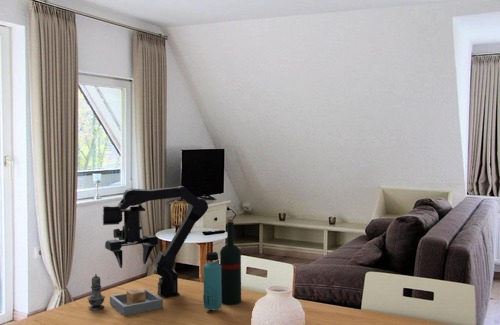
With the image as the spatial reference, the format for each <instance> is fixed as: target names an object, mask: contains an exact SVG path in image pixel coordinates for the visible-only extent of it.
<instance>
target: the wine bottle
mask: <svg viewBox="0 0 500 325" xmlns="http://www.w3.org/2000/svg"><path fill="white" fill-rule="evenodd" d="M226 224H227V226H226V227H227V228H226V229H227V230H226V232H227V236H226V238H227V240H226V241H227V244H225V245H224V246H223V247H222V248H221V249H220V251H219V264H220V265H221V266H222V267H221V284H222V305H225V306H232V305H239V304H241V303H242V265H241V264H242V252H241V250H240V248H239V247H238V246H237V245H235V244H234V218H232V217H228V218H227V223H226Z"/></svg>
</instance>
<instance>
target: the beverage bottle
mask: <svg viewBox="0 0 500 325" xmlns="http://www.w3.org/2000/svg"><path fill="white" fill-rule="evenodd" d="M205 260H206V261H207V262H206V263H205V264H204V265H203V266H202V267H203V268H202V269H203V275H202V276H203V277H202V279H203V282H202V284H203V295H202V300H203V308H204V309H205V310H206V309H207V310H219V309H221V308H222V306H223V304H222V284H221V267H222V266H221V265H220V262H219V261H218V260H219V254H218V252H215V251H213V252H207V253H206V257H205Z"/></svg>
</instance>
